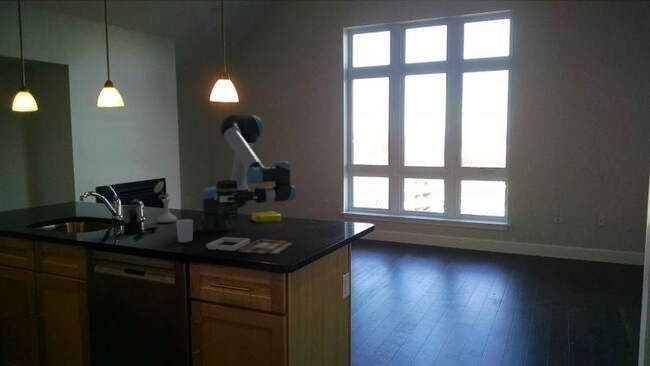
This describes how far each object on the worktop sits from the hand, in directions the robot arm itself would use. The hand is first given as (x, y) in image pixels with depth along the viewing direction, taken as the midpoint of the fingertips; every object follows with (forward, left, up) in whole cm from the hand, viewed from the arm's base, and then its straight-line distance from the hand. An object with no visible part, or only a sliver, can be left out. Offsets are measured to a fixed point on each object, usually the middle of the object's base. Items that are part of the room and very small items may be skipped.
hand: (217, 198), depth 217 cm
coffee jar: (+3, +3, -11) cm, 12 cm away
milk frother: (-58, +18, -23) cm, 65 cm away
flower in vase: (-64, +48, -23) cm, 83 cm away
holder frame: (+3, +3, -23) cm, 23 cm away
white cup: (-23, +7, -23) cm, 33 cm away
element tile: (-9, +71, -23) cm, 76 cm away
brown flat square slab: (+22, +3, -23) cm, 32 cm away
